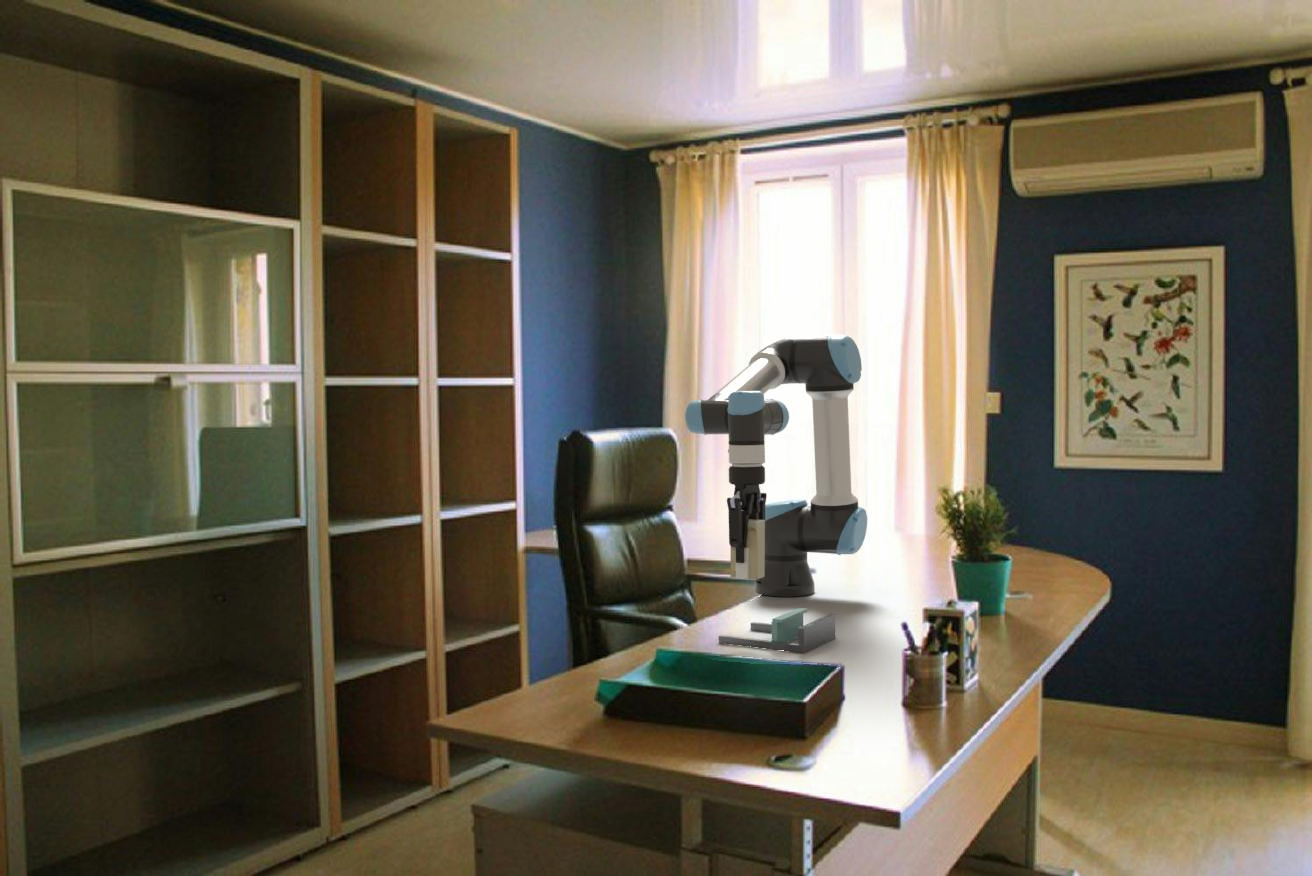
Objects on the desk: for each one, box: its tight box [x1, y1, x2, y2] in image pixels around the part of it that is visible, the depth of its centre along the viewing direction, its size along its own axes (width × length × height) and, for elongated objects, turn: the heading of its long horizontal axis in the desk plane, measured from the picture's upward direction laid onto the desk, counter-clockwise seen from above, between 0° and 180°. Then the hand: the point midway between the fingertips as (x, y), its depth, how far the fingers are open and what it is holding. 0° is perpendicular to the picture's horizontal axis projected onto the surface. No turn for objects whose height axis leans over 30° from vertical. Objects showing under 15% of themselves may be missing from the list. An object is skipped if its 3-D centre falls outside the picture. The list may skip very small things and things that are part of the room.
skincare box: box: [730, 519, 765, 581], centre depth 235 cm, size 6×4×12 cm
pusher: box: [771, 607, 809, 643], centre depth 231 cm, size 12×4×6 cm, turn 148°
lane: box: [718, 613, 837, 655], centre depth 233 cm, size 15×19×5 cm
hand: (748, 576), depth 235 cm, fingers closed on skincare box, 4 cm apart
